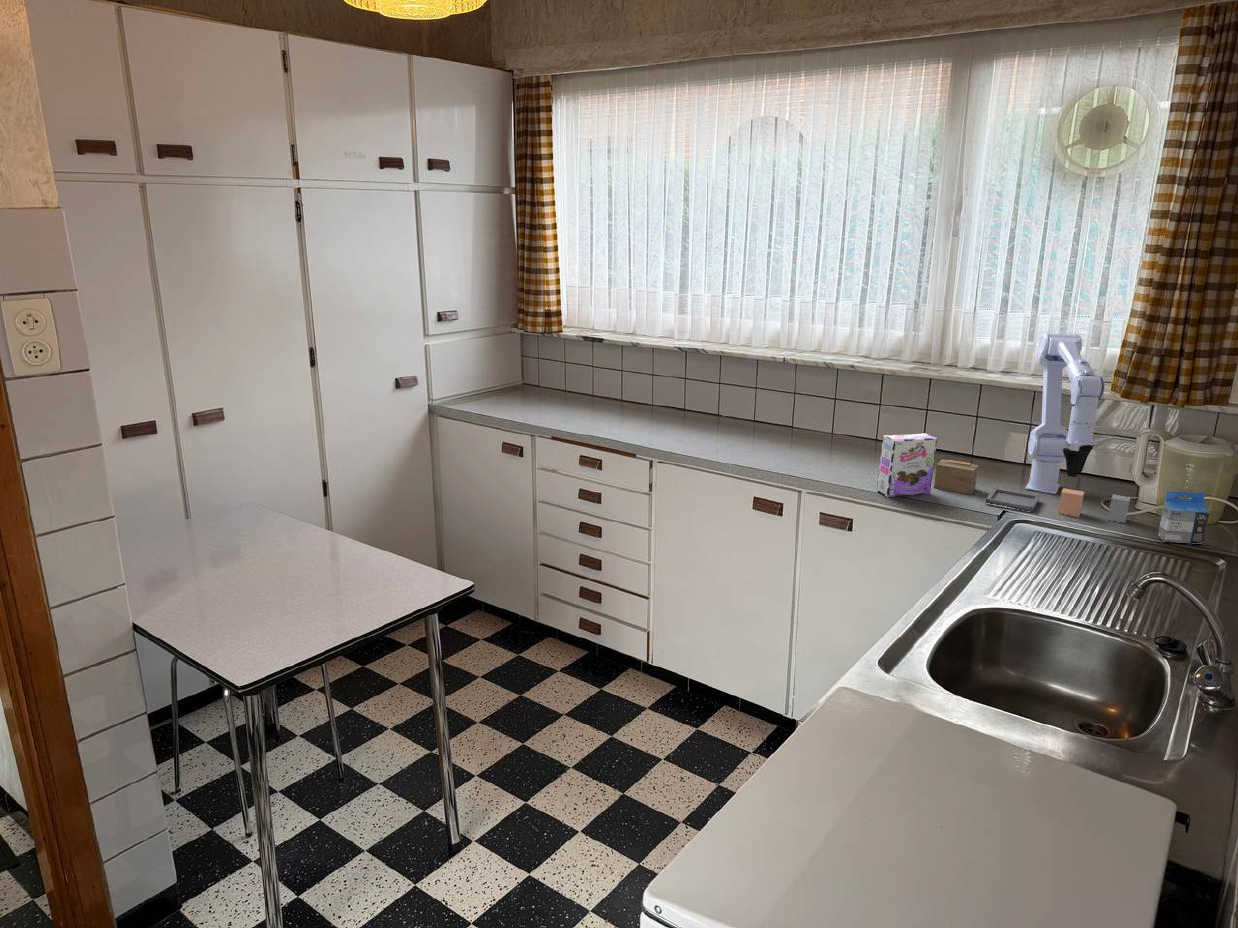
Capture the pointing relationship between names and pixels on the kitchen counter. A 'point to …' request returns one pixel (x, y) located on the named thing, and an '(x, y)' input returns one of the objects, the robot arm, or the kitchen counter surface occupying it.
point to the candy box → (906, 464)
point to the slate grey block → (1118, 508)
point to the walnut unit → (956, 476)
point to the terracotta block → (1071, 502)
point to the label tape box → (1184, 517)
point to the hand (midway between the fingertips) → (1074, 473)
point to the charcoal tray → (1013, 499)
